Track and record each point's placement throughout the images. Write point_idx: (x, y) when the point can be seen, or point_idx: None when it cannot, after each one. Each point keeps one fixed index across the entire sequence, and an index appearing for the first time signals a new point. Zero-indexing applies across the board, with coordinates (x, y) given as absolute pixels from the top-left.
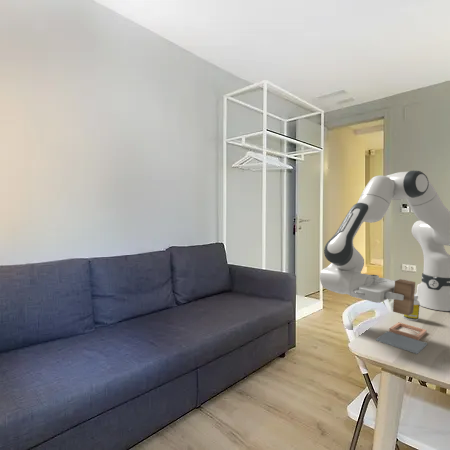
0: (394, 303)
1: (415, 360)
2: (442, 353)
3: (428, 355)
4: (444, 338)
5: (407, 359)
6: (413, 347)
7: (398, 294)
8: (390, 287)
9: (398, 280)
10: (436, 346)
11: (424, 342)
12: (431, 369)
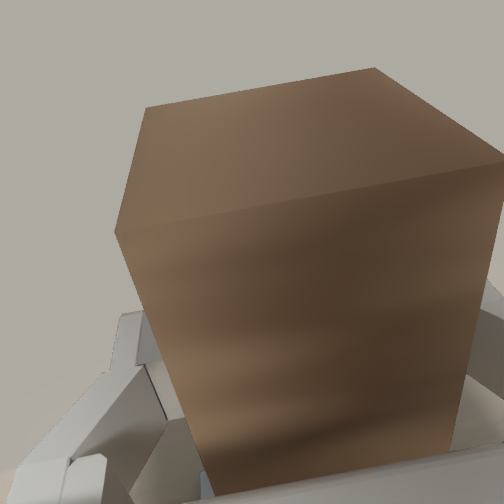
0: None
1: (461, 414)
2: None
3: None
4: (14, 472)
5: (500, 438)
6: None
7: (493, 287)
8: (410, 474)
9: (337, 174)
10: (179, 443)
11: (204, 485)
12: None
